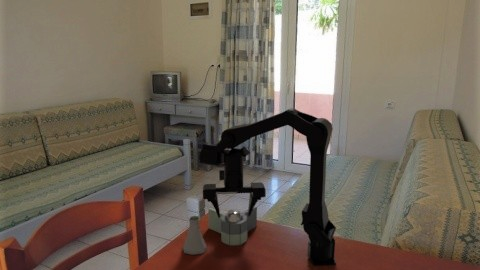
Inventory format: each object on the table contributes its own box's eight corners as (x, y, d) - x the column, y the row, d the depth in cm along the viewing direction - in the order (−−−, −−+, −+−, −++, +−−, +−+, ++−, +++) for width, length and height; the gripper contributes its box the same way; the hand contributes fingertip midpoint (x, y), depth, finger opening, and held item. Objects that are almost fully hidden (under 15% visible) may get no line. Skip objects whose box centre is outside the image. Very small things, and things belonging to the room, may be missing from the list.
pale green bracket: (252, 237, 111) (252, 217, 110) (235, 248, 105) (235, 226, 104) (218, 223, 121) (218, 204, 119) (201, 232, 115) (200, 212, 113)
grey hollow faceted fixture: (235, 248, 105) (235, 226, 104) (216, 239, 110) (215, 218, 109) (265, 229, 116) (265, 210, 115) (246, 222, 121) (246, 203, 120)
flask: (205, 255, 101) (204, 224, 99) (180, 255, 102) (179, 223, 99) (208, 242, 109) (207, 212, 106) (185, 242, 109) (183, 212, 106)
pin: (240, 235, 113) (240, 209, 111) (241, 241, 109) (240, 214, 107) (227, 235, 113) (227, 209, 111) (228, 242, 109) (227, 215, 107)
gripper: (261, 159, 114) (260, 204, 118) (203, 161, 113) (204, 206, 116) (266, 171, 103) (265, 220, 107) (202, 172, 102) (203, 222, 105)
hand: (234, 216), depth 109 cm, fingers open, 9 cm apart
